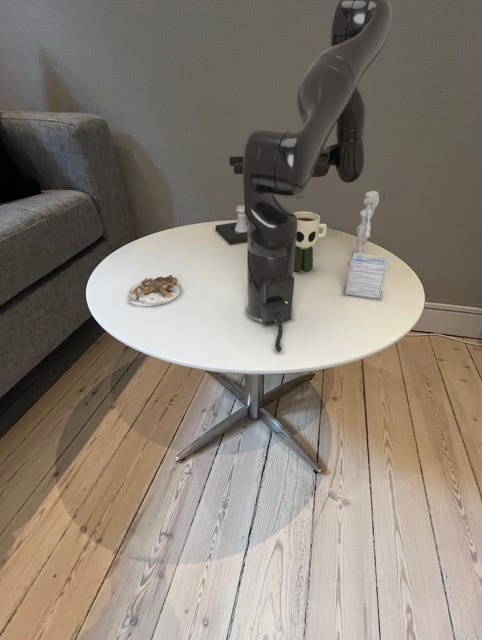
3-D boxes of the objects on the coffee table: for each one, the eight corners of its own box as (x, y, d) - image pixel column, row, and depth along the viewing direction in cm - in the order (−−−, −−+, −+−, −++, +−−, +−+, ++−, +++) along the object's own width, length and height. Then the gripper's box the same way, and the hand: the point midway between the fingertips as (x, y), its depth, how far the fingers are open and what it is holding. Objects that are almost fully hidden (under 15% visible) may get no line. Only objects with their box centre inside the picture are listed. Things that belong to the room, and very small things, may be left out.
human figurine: (348, 254, 106) (362, 183, 94) (362, 255, 106) (377, 184, 94) (351, 274, 97) (366, 198, 85) (366, 275, 97) (383, 199, 85)
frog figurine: (180, 279, 94) (178, 264, 91) (181, 304, 85) (179, 288, 82) (132, 282, 92) (128, 267, 90) (127, 308, 84) (123, 292, 81)
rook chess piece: (243, 238, 114) (242, 209, 108) (231, 234, 116) (230, 206, 110) (252, 233, 116) (252, 205, 111) (240, 230, 118) (240, 202, 113)
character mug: (280, 275, 97) (284, 221, 88) (277, 262, 102) (280, 211, 93) (323, 274, 97) (331, 221, 88) (318, 262, 102) (325, 211, 94)
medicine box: (379, 291, 91) (388, 255, 85) (379, 300, 88) (388, 264, 82) (346, 286, 93) (352, 251, 87) (344, 295, 89) (351, 259, 84)
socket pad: (268, 238, 114) (268, 233, 113) (230, 244, 110) (230, 239, 109) (251, 224, 122) (251, 219, 121) (215, 230, 118) (215, 225, 117)
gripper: (285, 142, 107) (227, 143, 105) (299, 153, 97) (235, 154, 95) (283, 172, 112) (228, 173, 110) (296, 186, 102) (235, 188, 100)
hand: (231, 165), depth 102 cm, fingers open, 8 cm apart
